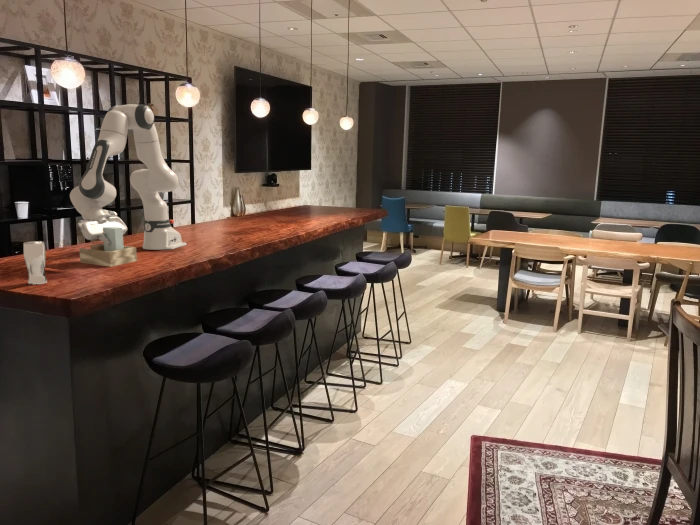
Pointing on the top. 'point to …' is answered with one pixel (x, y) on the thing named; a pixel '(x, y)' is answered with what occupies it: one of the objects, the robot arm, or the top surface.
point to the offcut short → (97, 247)
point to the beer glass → (35, 261)
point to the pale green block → (114, 238)
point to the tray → (108, 256)
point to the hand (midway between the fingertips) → (114, 243)
